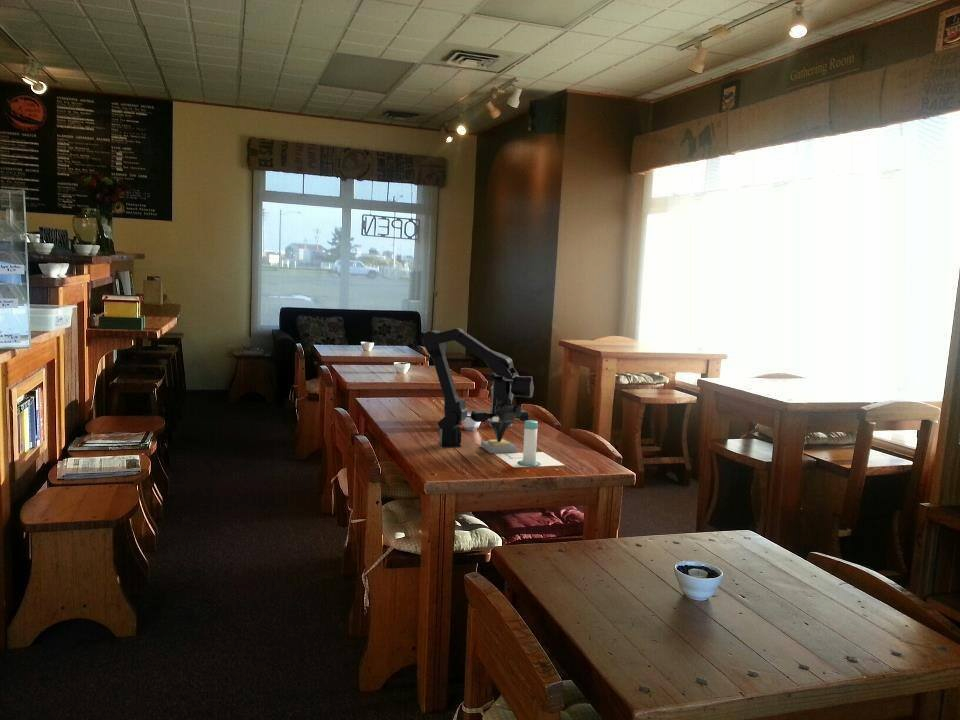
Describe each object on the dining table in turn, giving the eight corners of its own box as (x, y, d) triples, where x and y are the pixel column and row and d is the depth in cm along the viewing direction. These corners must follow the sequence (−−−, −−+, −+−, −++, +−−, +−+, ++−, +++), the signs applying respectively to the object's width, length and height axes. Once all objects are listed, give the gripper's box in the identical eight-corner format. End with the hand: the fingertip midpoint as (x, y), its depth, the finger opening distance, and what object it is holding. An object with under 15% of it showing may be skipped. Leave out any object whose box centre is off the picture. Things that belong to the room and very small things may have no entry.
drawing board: (512, 469, 230) (512, 467, 230) (492, 454, 247) (492, 452, 247) (566, 467, 236) (567, 464, 236) (543, 453, 253) (543, 451, 253)
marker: (523, 464, 234) (525, 422, 232) (522, 461, 238) (524, 420, 236) (536, 464, 234) (538, 423, 233) (534, 461, 238) (537, 420, 237)
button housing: (490, 454, 247) (490, 447, 247) (481, 448, 256) (481, 441, 255) (516, 453, 250) (516, 446, 250) (506, 447, 259) (506, 440, 258)
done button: (493, 450, 249) (494, 443, 249) (488, 446, 254) (488, 439, 254) (509, 449, 251) (509, 443, 251) (503, 445, 256) (503, 439, 256)
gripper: (482, 399, 240) (480, 448, 242) (537, 398, 246) (534, 446, 248) (471, 393, 250) (469, 440, 252) (524, 393, 257) (521, 438, 258)
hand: (498, 441), depth 252 cm, fingers closed, pressing on done button
